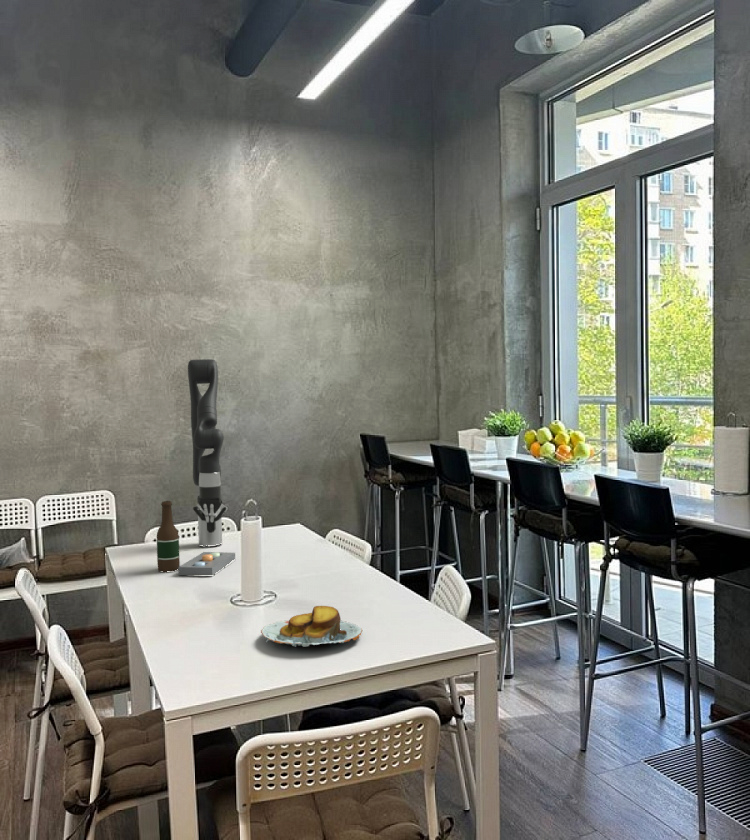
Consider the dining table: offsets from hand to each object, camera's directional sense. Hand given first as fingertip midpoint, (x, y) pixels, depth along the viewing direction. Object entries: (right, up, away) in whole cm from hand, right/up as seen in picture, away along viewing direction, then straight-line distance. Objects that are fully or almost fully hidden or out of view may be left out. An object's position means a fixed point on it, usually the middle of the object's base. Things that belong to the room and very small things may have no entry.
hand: (211, 532), depth 276 cm
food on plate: (+43, -15, -82) cm, 94 cm away
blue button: (-1, -11, -14) cm, 18 cm away
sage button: (+1, -11, -1) cm, 11 cm away
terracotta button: (0, -10, -8) cm, 13 cm away
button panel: (0, -12, -7) cm, 14 cm away
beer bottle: (-13, -12, -9) cm, 20 cm away
